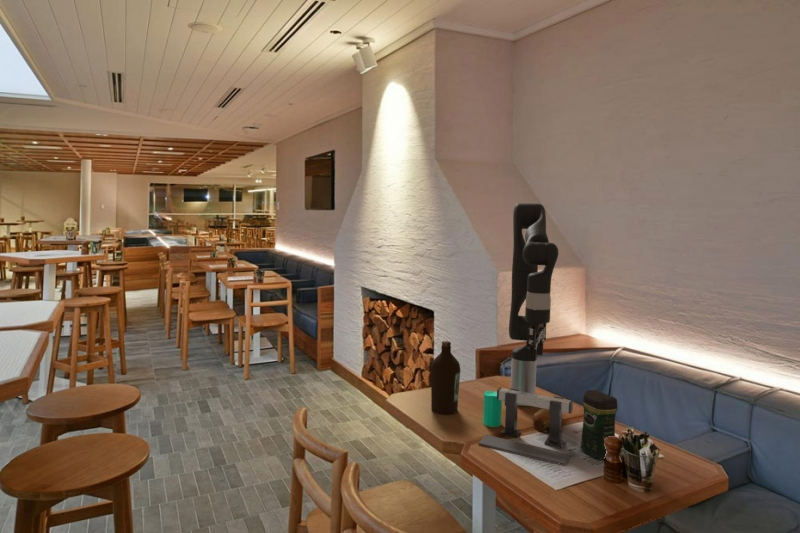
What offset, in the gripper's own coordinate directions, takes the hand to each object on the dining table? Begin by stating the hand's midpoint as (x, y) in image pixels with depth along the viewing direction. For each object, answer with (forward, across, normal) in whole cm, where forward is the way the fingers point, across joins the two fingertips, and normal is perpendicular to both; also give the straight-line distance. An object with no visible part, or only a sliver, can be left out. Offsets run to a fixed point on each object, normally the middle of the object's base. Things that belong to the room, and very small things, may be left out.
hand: (535, 357), depth 163 cm
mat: (+26, +10, 0) cm, 28 cm away
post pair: (+26, 0, 0) cm, 26 cm away
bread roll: (+26, -12, +2) cm, 29 cm away
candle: (+26, -5, -15) cm, 31 cm away
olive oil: (+26, -8, -34) cm, 44 cm away
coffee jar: (+26, 0, +20) cm, 33 cm away
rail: (+15, 0, 0) cm, 15 cm away
